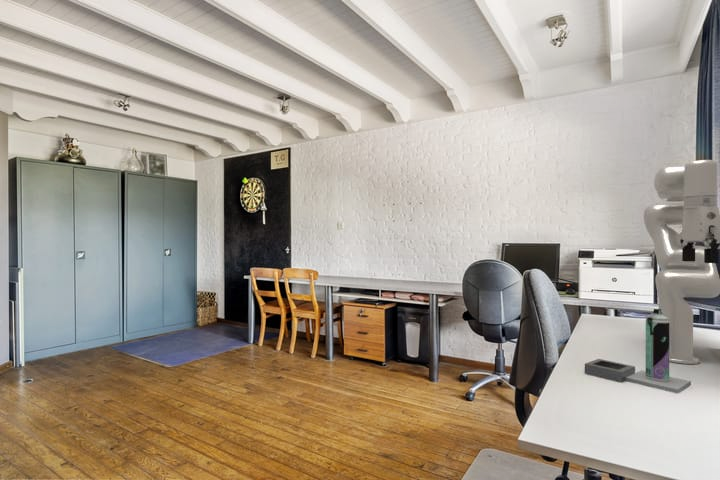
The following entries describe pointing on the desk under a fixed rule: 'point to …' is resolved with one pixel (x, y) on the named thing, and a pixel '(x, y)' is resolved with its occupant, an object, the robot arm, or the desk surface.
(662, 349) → the spray can
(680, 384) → the mat
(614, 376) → the grey square frame
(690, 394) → the desk surface
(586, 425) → the desk surface
